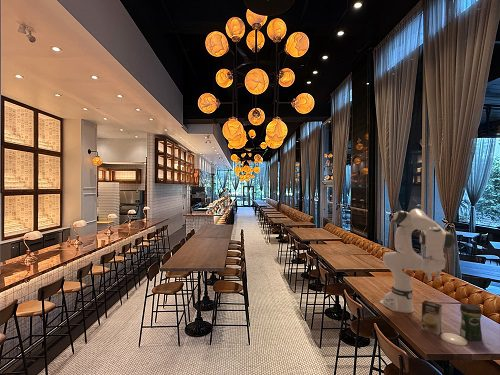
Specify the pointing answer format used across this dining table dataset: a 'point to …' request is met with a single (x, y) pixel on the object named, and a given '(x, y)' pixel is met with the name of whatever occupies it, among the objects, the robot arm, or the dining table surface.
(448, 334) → the cream glossy domed part
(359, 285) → the dining table surface
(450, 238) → the robot arm
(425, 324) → the coffee box
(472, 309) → the coffee jar
